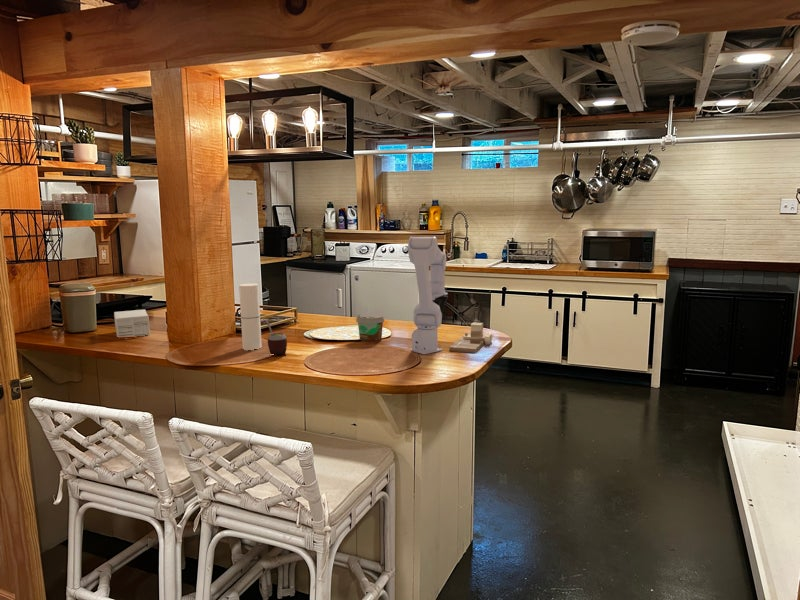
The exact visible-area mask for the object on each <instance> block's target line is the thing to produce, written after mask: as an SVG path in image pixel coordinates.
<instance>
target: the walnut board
mask: <svg viewBox="0 0 800 600" xmlns="http://www.w3.org/2000/svg"><path fill="white" fill-rule="evenodd" d="M484 345H486V344H485V341H481V340H468V339H463V336H461V337H460V338H459V339H457V340H456V341H455V342H454V343H453V344H451V345H450V346H449V351H450V352H461V353H470V352H471V353H473V354H475V353H477V352H478V351H479V350H480V349H481V348H482V347H484Z"/></svg>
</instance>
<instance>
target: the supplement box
mask: <svg viewBox="0 0 800 600" xmlns="http://www.w3.org/2000/svg"><path fill="white" fill-rule="evenodd" d="M113 316H114V328H115V333H116V338H117V337H130V336H144V335H150V336H151V330H150V328H151V327H150V320H149V319H150V318H149V317H150V316H149V314H148V313H147V310H146V309H135V310H124V311H114V312H113ZM144 337H145V336H144Z"/></svg>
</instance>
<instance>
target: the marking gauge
mask: <svg viewBox="0 0 800 600" xmlns="http://www.w3.org/2000/svg"><path fill="white" fill-rule="evenodd" d="M462 337H463V339H468V340H481V341H485V344H484V345H487V346H488V345H490V344H491V343H492V342H493V332H492V333H490V332H489V333H487V334H486V335H485V334H484V323H483V322H472V323H471V324H470V334H469V333H468V332H465V334H464V335H463V336H462Z"/></svg>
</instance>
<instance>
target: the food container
mask: <svg viewBox="0 0 800 600" xmlns="http://www.w3.org/2000/svg"><path fill="white" fill-rule="evenodd" d="M355 321H356V323H357V326H358V335H359V336H358V337H359V340H360V339H361V341H360V342H362V343H378V342H382V339H383V327H384V326H383V325H384V323H385V318H384V317H383V316H381V317H374V316H360V314H358V315H357V316H356V320H355Z"/></svg>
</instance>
